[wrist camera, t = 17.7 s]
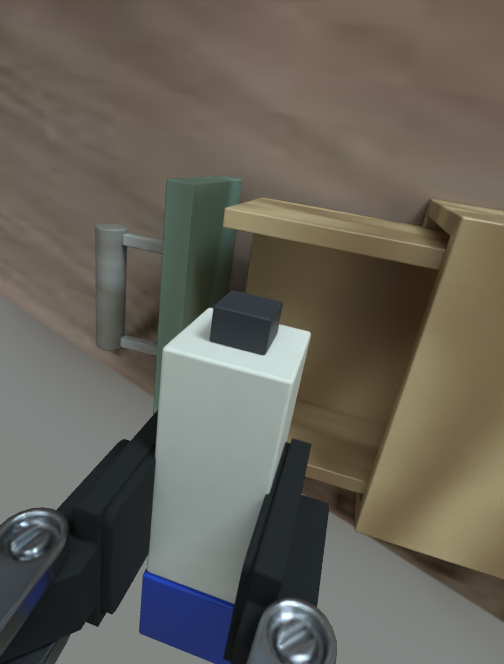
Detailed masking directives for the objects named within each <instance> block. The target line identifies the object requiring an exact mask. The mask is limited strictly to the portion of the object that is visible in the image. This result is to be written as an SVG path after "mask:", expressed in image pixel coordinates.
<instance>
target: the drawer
mask: <svg viewBox="0 0 504 664" xmlns="http://www.w3.org/2000/svg"><path fill="white" fill-rule="evenodd" d="M241 184H242V179H237V178H232V177H226V176H212V177H195V178H179V179H167V186H166V203H165V220H164V237H163V240H160V239H155V238H150V237H146V236H141V235H136V234H131V233H127V228H126V227H124V226H122V225H117V224H98V225H96V226H95V249H96V345H97V347H98V348H100V349H102V350H107V351H113V350H118V349H121V348H127V349H131V350H134V351H138V352H142V353H146V354H149V355H153V356H156V374H155V391H154V409H153V415H154V414H155V413H156V411H157V410H158V407H159V393H160V379H161V365H162V351H163V348H164V346H166V345H167V344H168V343H169V342H170V341H171V340H172V339H174V338H175V337H176V336H177V335H178V334H179V333H180V332H182V331H183V330H184V329H185V328H186V327H187V326H188V325H190V324H191V323H192V322H193V321H194V320H195V319H197V318H198V317H199V316H200V315H201V314H202V313H203V312H205V311H206V310H207V309H208V308H213V307H214V305H215V304H217V303H218V302H219V301H220V300H221V299H222V298H223V297H224V296H226V295H227V293H228V285H229V278H230V270H231V262H232V254H233V246H234V239H235V231H236V230H239V231H244V232H249V233H254V234H253V241H252V248H251V255H250V262H249V268H248V275H247V282H246V289H245V293H247V294H251V295H256V296H260V297H264V298H269V299H273V300H277V301H281V302H283V307H282V312H281V317H280V322H279V324H280V325H284V326H288V327H292V328H296V329H301V330H305V331H309V332H310V333H311V337H310V342H309V346H308V350H307V355H306V359H305V363H304V368H303V372H302V377H301V381H300V385H299V390H298V394H297V398H296V403H295V407H294V411H293V416H292V420H291V425H290V429H289V433H288V438H287V442H288V443H291V439H292V438H294V439H298V440H301V441H305V442H308V443H311V444H312V446H311V450H310V455H309V460H308V464H307V469H306V474H305V477H308V478H311V479H314V480H317V481H321V482H324V483H327V484H331V485H334V486H337V487H340V488H344V489H347V490H350V491H353V492H357V493H360V494H364V491H365V488H366V485H367V482H368V479H369V476H370V473H371V470H372V467H373V464H374V461H375V458H376V455H377V452H378V450H379V447H380V444H381V441H382V438H383V435H384V432H385V429H386V426H387V423H388V420H389V417H390V414H391V411H392V408H393V405H394V402H395V399H396V396H397V393H398V390H399V387H400V384H401V381H402V378H403V375H404V373H405V370H406V367H407V364H408V361H409V358H410V355H411V352H412V349H413V346H414V343H415V340H416V337H417V334H418V331H419V328H420V325H421V322H422V319H423V316H424V313H425V310H426V307H427V304H428V301H429V299H430V296H431V293H432V290H433V287H434V284H435V281H436V278H437V275H438V272H439V269H440V266H441V263H442V260H443V257H444V254H445V251H446V248H447V245H448V242H449V239H450V235H449V234H448V233H447V232H446V231H444V230H439V229H433V228H428V227H422V226H417V225H411V224H406V223H400V222H395V221H389V220H384V219H378V218H373V217H367V216H362V215H356V214H351V213H345V212H340V211H334V210H329V209H323V208H318V207H312V206H307V205H301V204H296V203H290V202H285V201H279V200H274V199H268V198H260V199H255V200H252V201H248V202H245V203H241V204H239V199H240V192H241ZM127 246H128V247H133V248H137V249H142V250H146V251H151V252H156V253H160V254H162V271H161V288H160V305H159V322H158V339H157V343H156V342H152V341H148V340H144V339H140V338H137V337H133V336H129V335H125V307H126V264H127Z"/></svg>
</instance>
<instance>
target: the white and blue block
mask: <svg viewBox="0 0 504 664" xmlns="http://www.w3.org/2000/svg"><path fill="white" fill-rule="evenodd" d="M282 307H283V302H281V301H277V300H273V299H269V298H264V297H260V296H256V295H251V294H247V293H243V292H238V291H234V290H231V291H230V292H229V293H228V294H227V295H226V296H224V297H223V298H222V299H221V300H220V301H219V302H218V303H217V304H215V305H214V307H213V308H208V309H207V310H206V311H205V312H203V313H202V314H201V315H200V316H199V317H198V318H197V319H195V320H194V321H193V322H192V323H191V324H190V325H188V326H187V327H186V328H185V329H184V330H183V331H182V332H180V333H179V334H178V335H177V336H176V337H175V338H174V339H172V340H171V341H170V342H169V343H168V344H167V345H166V346H164V348H163V351H162V365H161V379H160V393H159V407H158V421H157V435H156V449H155V459H156V464H155V478H154V491H153V505H152V518H151V532H150V545H149V554H148V561H147V569H146V570H145V573H144V574H143V581H142V597H141V612H140V613H141V614H140V626H139V627H140V628H139V632H140V633H141V634H143V635H145V636H148V637H150V638H152V639H155V640H157V641H160V642H162V643H165V644H168V645H170V646H172V647H175V648H178V649H180V650H182V651H185V652H187V653H190V654H192V655H195V656H198V657H200V658H202V659H205V660H207V661H210V662H212V663H214V664H230V663H231V662H229V661H227V660H224V659H223V657H224V652H225V647H226V643H227V638H228V633H229V628H230V623H231V619H232V614H233V609H234V604H235V600H236V595H237V590H238V585H239V580H240V576H241V571H242V567H243V564H244V560H245V557H246V553H247V550H248V547H249V544H250V541H251V538H252V535H253V532H254V528H255V525H256V522H257V519H258V516H259V513H260V510H261V507H262V504H263V501H264V497H265V494H269V493H270V490H271V487H272V483H273V480H274V477H275V474H276V470H277V467H278V464H279V461H280V457H281V454H282V451H283V448H284V445H285V442H287V438H288V433H289V429H290V425H291V420H292V416H293V411H294V407H295V403H296V398H297V394H298V390H299V385H300V381H301V377H302V372H303V368H304V363H305V359H306V355H307V350H308V346H309V342H310V337H311V333H310V332H309V331H305V330H301V329H296V328H292V327H288V326H284V325H280V324H279V322H280V317H281V312H282Z"/></svg>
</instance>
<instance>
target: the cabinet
mask: <svg viewBox="0 0 504 664" xmlns="http://www.w3.org/2000/svg"><path fill="white" fill-rule="evenodd" d="M422 227H428V228H433V229H439V230H444V231H446V232H447V233H448V234H449V235H450V239H449V242H448V245H447V248H446V251H445V254H444V257H443V260H442V263H441V266H440V269H439V272H438V275H437V278H436V281H435V284H434V287H433V290H432V293H431V296H430V299H429V301H428V304H427V307H426V310H425V313H424V316H423V319H422V322H421V325H420V328H419V331H418V334H417V337H416V340H415V343H414V346H413V349H412V352H411V355H410V358H409V361H408V364H407V367H406V370H405V373H404V375H403V378H402V381H401V384H400V387H399V390H398V393H397V396H396V399H395V402H394V405H393V408H392V411H391V414H390V417H389V420H388V423H387V426H386V429H385V432H384V435H383V438H382V441H381V444H380V447H379V450H378V452H377V455H376V458H375V461H374V464H373V467H372V470H371V473H370V476H369V479H368V482H367V485H366V488H365V491H364V494H360V493H357V492H356V509H355V528H354V529H355V531H356V532H358V533H361V534H364V535H367V536H371V537H374V538H377V539H380V540H383V541H386V542H389V543H392V544H395V545H398V546H401V547H405V548H408V549H411V550H414V551H417V552H420V553H423V554H426V555H429V556H432V557H436V558H439V559H442V560H445V561H448V562H451V563H454V564H457V565H460V566H463V567H466V568H470V569H473V570H476V571H479V572H482V573H485V574H488V575H491V576H494V577H497V578H500V579H504V211H502V210H496V209H490V208H484V207H478V206H472V205H466V204H461V203H455V202H449V201H443V200H437V199H430V200H429V203H428V207H427V210H426V213H425V216H424V220H423V223H422Z"/></svg>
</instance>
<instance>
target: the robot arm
mask: <svg viewBox="0 0 504 664" xmlns="http://www.w3.org/2000/svg"><path fill="white" fill-rule="evenodd" d="M157 421H158V410H157V411H156V413H155V414H154V415H153V416H152V417H151V418H150V420H149V421H148V422H147V423H146V424H145V425H144V426H143V428H142V429H141V430H140V431H139V432H138V433H137V434H136V435H135V437H134V438H133V439H132V440H131V441H129V440H126V439H123V440H121V441H120V442H119V443H117V445H116V446H115V447H114V448H113V449H112V450H111V451H110V452H109V453H108V454H107V455H106V456H105V458H104V459H103V460H102V461H101V462H100V463H99V464H98V465H97V466H96V467H95V468H94V470H93V471H92V472H91V473H90V474H89V475H88V476H87V477H86V478H85V479H84V480H83V482H82V483H81V484H80V485H79V486H78V487H77V488H76V489H75V490H74V491H73V493H72V494H71V495H70V496H69V497H68V498H67V499H66V500H65V501H64V502H63V503H62V504H61V506H60V507H59V508H58V509H57V510H54V509H50V508H43V507H42V508H31V509H28V510H25V511H22V512H19V513H17V514H15V515H13V516H11V517H10V518H8V519H7V520H6V521H4V522H3V523H2V524H1V525H0V664H55V662H56V661H57V659H58V657H59V656H60V654H61V652H62V650H63V649H64V647H65V645H66V643H67V641H68V639H69V637H70V634H72V633H74V632H76V631H79V630H81V628H82V627H83V625H84V624H85V622H87V623H90V624H92V625H95V626H97V627H98V626H99V624H100V623H101V621H102V619H103V618H104V616H105V614H106V612H107V613H110V614H113V613H114V612H115V611H116V609H117V608H118V606H119V604H120V602H121V601H122V599H123V597H124V596H125V594H126V592H127V590H128V588H129V587H130V585H131V583H132V582H133V580H134V578H135V576H136V575H137V573H138V571H139V569H140V568H141V566H142V564H143V562H144V561H145V559H146V557H147V555H148V554H149V545H150V532H151V518H152V505H153V491H154V478H155V464H156V459H155V449H156V435H157ZM311 446H312V444H311V443H308V442H305V441H301V440H298V439H294V438H292V439H291V443H288V442H285V445H284V448H283V451H282V454H281V457H280V461H279V464H278V467H277V470H276V474H275V477H274V480H273V483H272V487H271V490H270V493H269V494H265V497H264V501H263V504H262V507H261V510H260V513H259V516H258V519H257V522H256V525H255V528H254V532H253V535H252V538H251V541H250V544H249V547H248V550H247V553H246V557H245V560H244V564H243V567H242V571H241V576H240V580H239V585H238V590H237V595H236V600H235V604H234V609H233V614H232V619H231V623H230V628H229V633H228V638H227V643H226V647H225V652H224V657H223V659H224V660H227V661H229V662H231V663H230V664H336V656H337V645H336V644H337V641H336V637H335V635H334V631H333V628H332V626H331V624H330V623H329V621H328V619H327V618H326V616H325V615H324V614H323V613H322V612H321V611H320V610H319V609H318V608H317V602H318V594H319V586H320V577H321V570H322V562H323V554H324V546H325V537H326V529H327V521H328V513H329V503H325V502H322V501H319V500H316V499H313V498H310V497H306V496H303V495H301V492H302V488H303V483H304V478H305V474H306V469H307V464H308V460H309V455H310V450H311Z"/></svg>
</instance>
